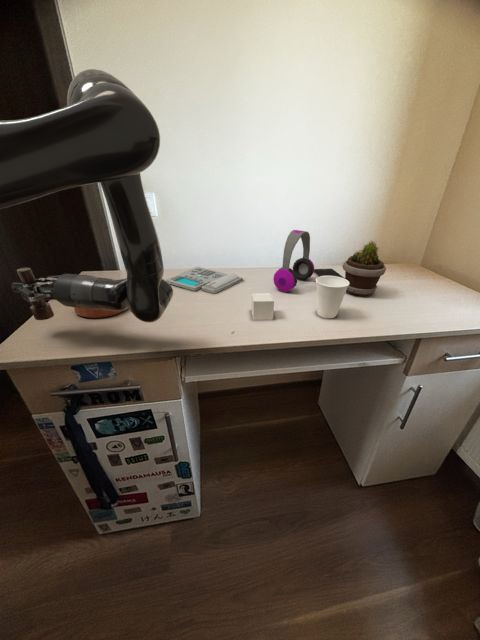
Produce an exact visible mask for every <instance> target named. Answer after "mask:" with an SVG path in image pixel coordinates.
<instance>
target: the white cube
mask: <svg viewBox="0 0 480 640" xmlns="http://www.w3.org/2000/svg"><path fill="white" fill-rule="evenodd" d="M274 310H275V300H274V297H273V295H272V292H271V293H270V292H269V293H268V292H267V293H266V292H264V293H263V292H262V293H251V315H252V320H253V321H265V320H269V321H270V320H271V321H272V320H274Z"/></svg>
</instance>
